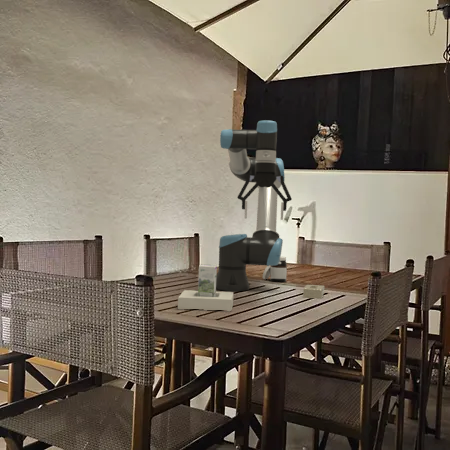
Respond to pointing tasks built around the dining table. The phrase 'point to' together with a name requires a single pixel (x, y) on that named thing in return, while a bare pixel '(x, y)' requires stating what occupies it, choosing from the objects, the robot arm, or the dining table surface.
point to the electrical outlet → (313, 291)
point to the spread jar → (276, 271)
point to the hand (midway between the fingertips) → (263, 219)
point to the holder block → (205, 301)
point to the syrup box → (207, 280)
